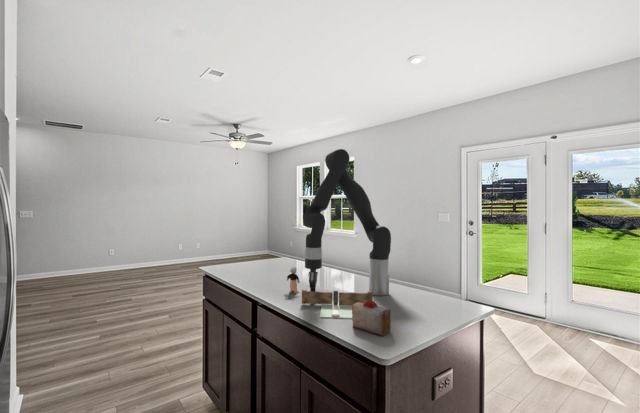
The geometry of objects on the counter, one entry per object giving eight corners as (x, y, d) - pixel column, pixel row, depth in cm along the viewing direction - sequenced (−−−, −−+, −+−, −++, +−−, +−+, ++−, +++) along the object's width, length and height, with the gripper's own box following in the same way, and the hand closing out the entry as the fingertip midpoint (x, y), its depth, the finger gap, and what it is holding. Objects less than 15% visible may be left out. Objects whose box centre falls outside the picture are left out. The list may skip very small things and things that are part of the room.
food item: (348, 327, 113) (348, 299, 113) (360, 321, 119) (360, 295, 119) (382, 338, 104) (382, 308, 104) (393, 331, 110) (394, 302, 110)
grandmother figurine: (301, 292, 157) (302, 266, 157) (298, 294, 153) (299, 267, 153) (287, 290, 160) (287, 265, 159) (284, 292, 156) (284, 266, 156)
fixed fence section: (372, 305, 137) (372, 291, 137) (372, 306, 135) (372, 292, 134) (338, 304, 137) (339, 290, 137) (338, 305, 135) (339, 291, 135)
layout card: (373, 302, 142) (373, 301, 142) (380, 319, 120) (380, 318, 120) (322, 301, 143) (322, 300, 143) (319, 318, 122) (319, 316, 122)
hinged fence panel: (337, 303, 137) (338, 290, 137) (338, 304, 135) (338, 291, 135) (301, 302, 138) (302, 289, 138) (301, 303, 136) (301, 290, 136)
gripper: (321, 260, 135) (320, 300, 135) (322, 255, 148) (322, 292, 148) (303, 259, 135) (302, 300, 135) (306, 254, 148) (306, 291, 148)
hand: (312, 296), depth 142 cm, fingers closed
